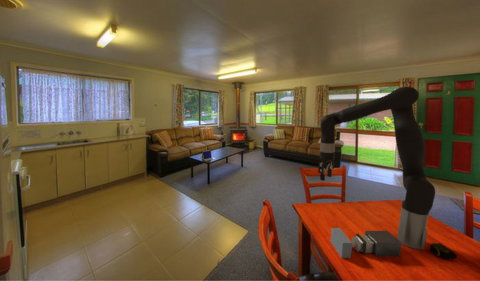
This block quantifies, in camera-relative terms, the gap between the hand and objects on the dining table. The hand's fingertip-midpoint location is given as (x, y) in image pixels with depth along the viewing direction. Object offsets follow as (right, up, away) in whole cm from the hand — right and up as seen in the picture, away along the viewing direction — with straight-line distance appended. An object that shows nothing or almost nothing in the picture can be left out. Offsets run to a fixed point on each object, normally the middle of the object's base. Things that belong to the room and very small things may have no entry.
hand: (326, 178), depth 102 cm
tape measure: (+41, -30, -22) cm, 55 cm away
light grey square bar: (+13, -29, -19) cm, 37 cm away
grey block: (-2, -29, -19) cm, 35 cm away
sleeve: (+16, -29, -19) cm, 38 cm away
